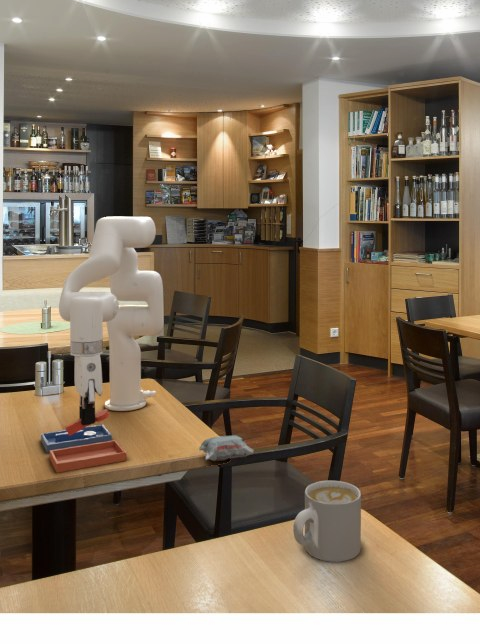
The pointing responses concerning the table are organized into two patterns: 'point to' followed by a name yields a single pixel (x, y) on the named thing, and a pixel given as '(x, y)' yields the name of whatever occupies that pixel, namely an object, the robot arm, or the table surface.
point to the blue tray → (50, 443)
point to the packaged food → (225, 448)
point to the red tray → (87, 456)
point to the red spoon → (78, 426)
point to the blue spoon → (74, 436)
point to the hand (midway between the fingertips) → (87, 422)
